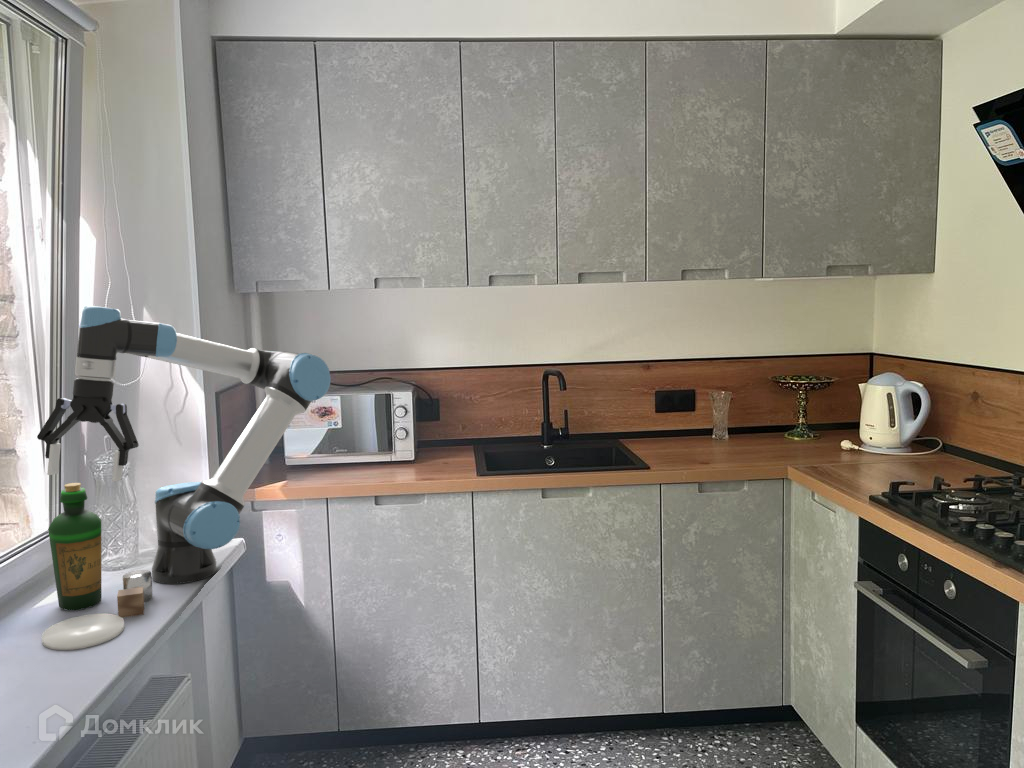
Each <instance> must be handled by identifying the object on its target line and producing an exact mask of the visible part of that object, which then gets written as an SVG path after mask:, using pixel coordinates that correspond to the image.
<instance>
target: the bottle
mask: <svg viewBox="0 0 1024 768" xmlns="http://www.w3.org/2000/svg"><path fill="white" fill-rule="evenodd" d="M81 485H82V483H81V482H70V483H66V484H64V489H62V490H61V492H60V499H59V502H60V503H62V505H63V512H61V513H60V514H58V515H57V516H55V517H54V518H52V519H53V520H52V521H51V523H50V524H49V526H48V529H47V530H48V536H49V544H50V551H51V558H52V565H53V571H54V579H55V588H56V594H57V601H58V608H61V609H62V610H65V611H80V610H85V609H88V608H91V607H94V606H95V605H97V604H99V603H100V602H101V601H102V519H101V517H99V516H98V514H97V513H95V512H93V511H90V510H88V509H85V505H86V503H85V501H87V499H88V496H87V492H86V488H85V487H81Z"/></svg>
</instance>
